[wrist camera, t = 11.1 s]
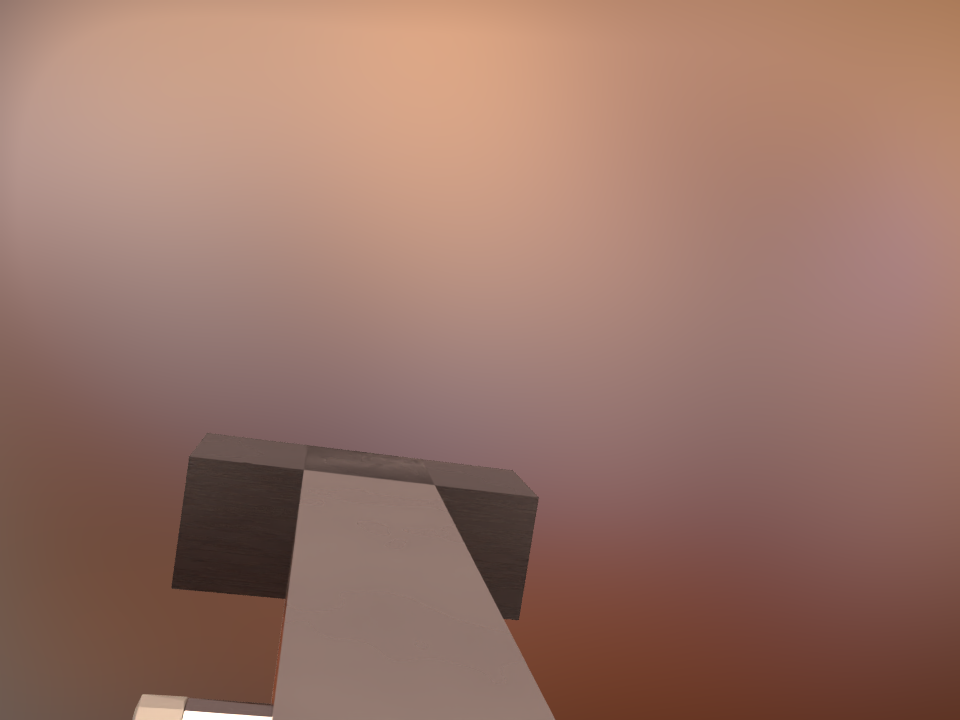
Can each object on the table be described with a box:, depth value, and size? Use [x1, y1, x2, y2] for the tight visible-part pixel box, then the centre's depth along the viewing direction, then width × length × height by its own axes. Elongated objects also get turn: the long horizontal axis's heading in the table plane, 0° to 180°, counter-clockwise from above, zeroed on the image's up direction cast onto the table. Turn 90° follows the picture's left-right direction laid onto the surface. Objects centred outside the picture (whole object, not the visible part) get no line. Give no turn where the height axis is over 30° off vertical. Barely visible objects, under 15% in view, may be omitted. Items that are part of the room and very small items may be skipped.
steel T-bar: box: [172, 433, 555, 720], centre depth 16 cm, size 8×16×3 cm, turn 9°
